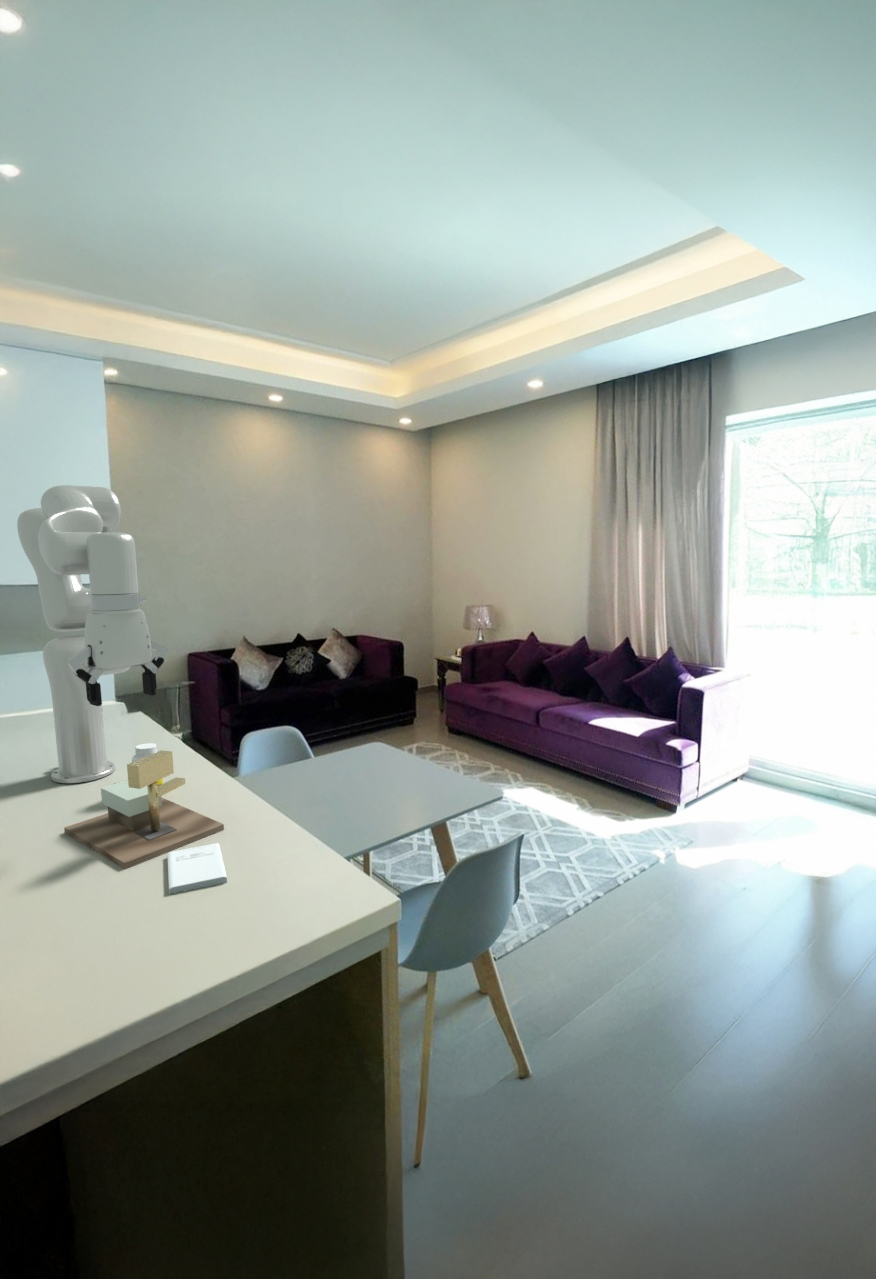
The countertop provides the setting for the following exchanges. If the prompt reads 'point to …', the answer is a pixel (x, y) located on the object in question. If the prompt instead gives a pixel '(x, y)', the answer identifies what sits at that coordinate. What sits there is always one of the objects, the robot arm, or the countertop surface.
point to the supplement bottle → (145, 754)
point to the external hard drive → (195, 868)
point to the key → (153, 780)
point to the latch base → (142, 833)
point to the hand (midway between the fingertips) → (123, 699)
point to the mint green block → (126, 798)
